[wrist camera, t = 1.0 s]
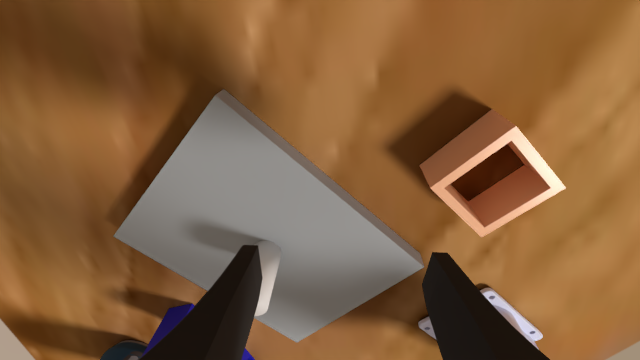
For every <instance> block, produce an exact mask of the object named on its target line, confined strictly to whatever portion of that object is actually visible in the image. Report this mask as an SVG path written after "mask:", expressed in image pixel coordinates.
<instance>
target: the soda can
mask: <svg viewBox="0 0 640 360" xmlns="http://www.w3.org/2000/svg"><path fill="white" fill-rule="evenodd" d="M147 346H148V344H146V343H143V342H139V341H134V340H126V341H122V342H120V343H118V344H116V345H115V346H113V347H111V348H110V349H108V350H107V351H106V352H105V353H104V354H103V356H102V357H101V359H100V360H139V359H140V358H141V357H142V355H143V353H144V351H145V350H146V348H147Z"/></svg>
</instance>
